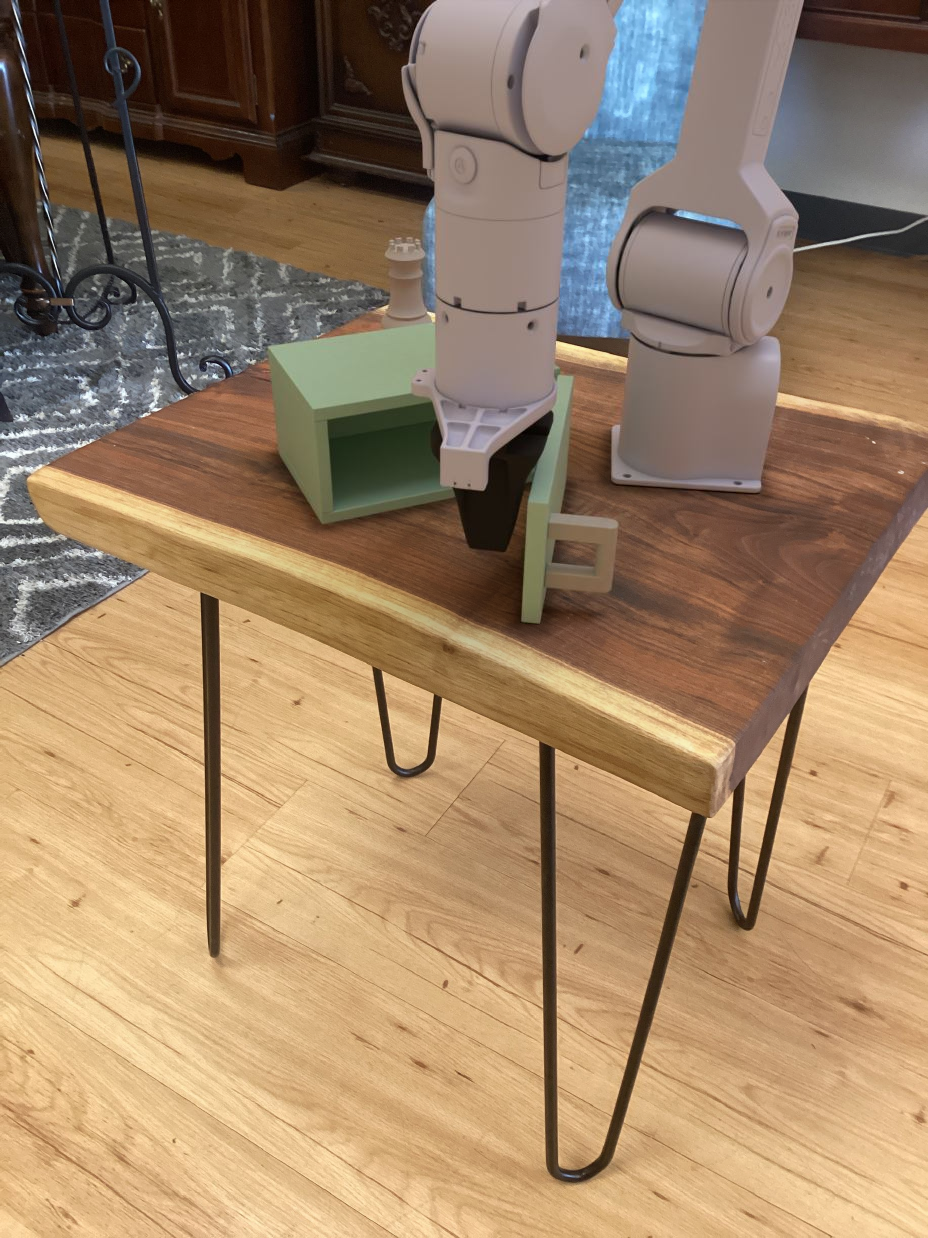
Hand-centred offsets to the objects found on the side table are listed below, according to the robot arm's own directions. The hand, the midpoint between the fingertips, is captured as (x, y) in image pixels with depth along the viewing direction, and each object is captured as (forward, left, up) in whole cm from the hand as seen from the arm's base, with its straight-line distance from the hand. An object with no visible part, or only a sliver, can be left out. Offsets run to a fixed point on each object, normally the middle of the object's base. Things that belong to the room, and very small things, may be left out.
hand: (489, 544), depth 56 cm
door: (-5, -5, -3) cm, 7 cm away
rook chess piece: (+10, -36, -3) cm, 37 cm away
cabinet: (+6, -14, -3) cm, 15 cm away
